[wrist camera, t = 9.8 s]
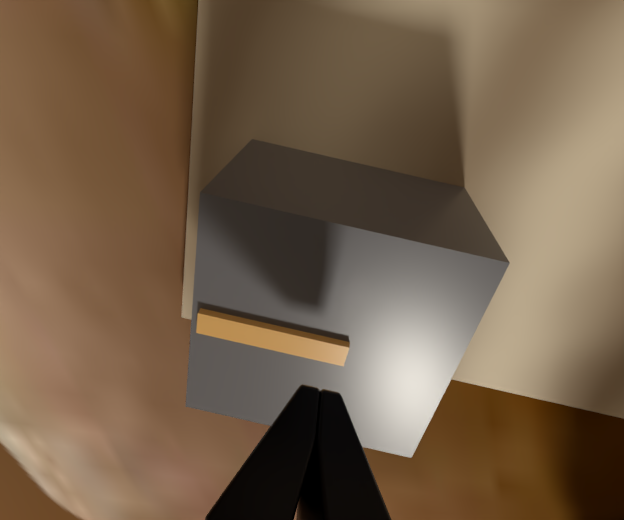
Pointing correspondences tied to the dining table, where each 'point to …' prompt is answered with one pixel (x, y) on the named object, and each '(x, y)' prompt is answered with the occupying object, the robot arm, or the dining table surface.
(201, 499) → the dining table surface
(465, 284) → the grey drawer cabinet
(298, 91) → the panel
